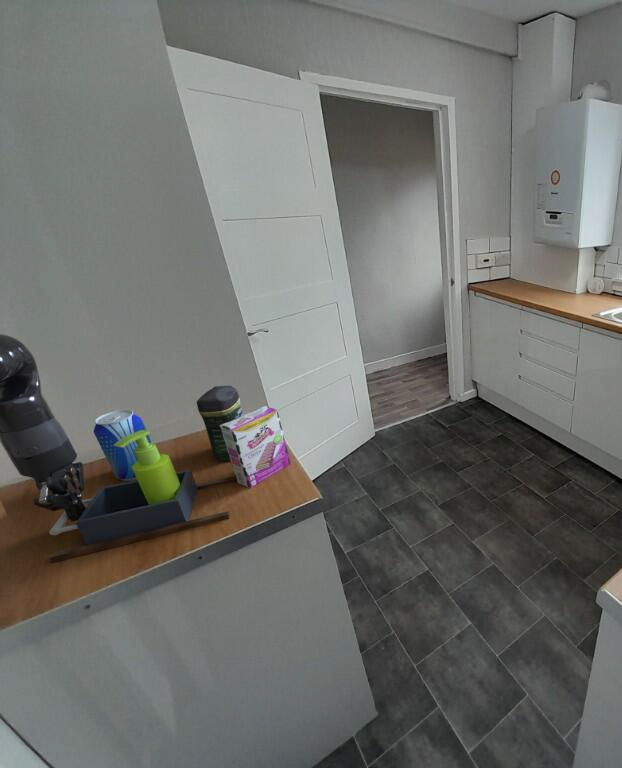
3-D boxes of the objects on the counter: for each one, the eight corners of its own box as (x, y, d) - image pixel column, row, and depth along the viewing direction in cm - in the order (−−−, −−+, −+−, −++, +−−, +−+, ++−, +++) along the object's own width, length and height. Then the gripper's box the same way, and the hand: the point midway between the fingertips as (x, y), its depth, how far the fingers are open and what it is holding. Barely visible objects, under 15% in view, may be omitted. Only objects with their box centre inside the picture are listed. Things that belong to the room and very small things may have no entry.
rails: (51, 562, 76) (48, 557, 75) (86, 512, 88) (83, 507, 87) (229, 519, 87) (227, 514, 86) (238, 479, 99) (236, 475, 98)
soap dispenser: (142, 521, 86) (104, 441, 77) (175, 500, 92) (143, 423, 83) (163, 527, 84) (126, 446, 76) (195, 505, 90) (164, 428, 82)
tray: (55, 555, 77) (41, 530, 74) (82, 515, 86) (70, 493, 84) (187, 523, 85) (178, 500, 82) (198, 490, 94) (190, 469, 92)
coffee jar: (245, 461, 106) (225, 398, 98) (211, 465, 104) (187, 401, 96) (258, 441, 114) (240, 381, 106) (226, 444, 113) (206, 384, 105)
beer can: (112, 475, 99) (84, 418, 93) (154, 458, 106) (131, 404, 99) (124, 488, 95) (95, 430, 88) (167, 470, 101) (143, 414, 95)
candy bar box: (251, 490, 95) (231, 431, 88) (237, 484, 97) (217, 425, 90) (292, 465, 104) (278, 409, 98) (279, 459, 106) (264, 404, 99)
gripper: (29, 431, 78) (70, 503, 85) (-14, 469, 67) (36, 547, 74) (81, 423, 81) (116, 492, 88) (47, 458, 70) (90, 534, 77)
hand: (79, 517), depth 81 cm, fingers closed
